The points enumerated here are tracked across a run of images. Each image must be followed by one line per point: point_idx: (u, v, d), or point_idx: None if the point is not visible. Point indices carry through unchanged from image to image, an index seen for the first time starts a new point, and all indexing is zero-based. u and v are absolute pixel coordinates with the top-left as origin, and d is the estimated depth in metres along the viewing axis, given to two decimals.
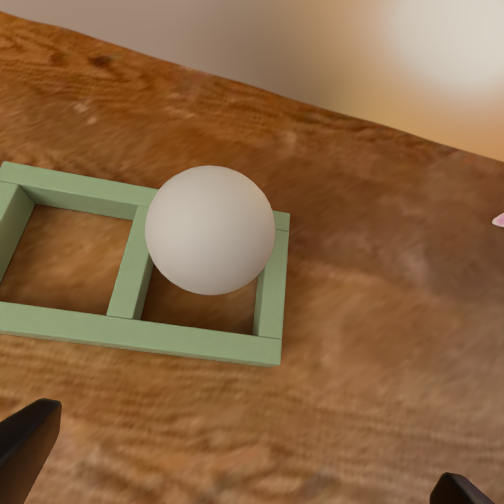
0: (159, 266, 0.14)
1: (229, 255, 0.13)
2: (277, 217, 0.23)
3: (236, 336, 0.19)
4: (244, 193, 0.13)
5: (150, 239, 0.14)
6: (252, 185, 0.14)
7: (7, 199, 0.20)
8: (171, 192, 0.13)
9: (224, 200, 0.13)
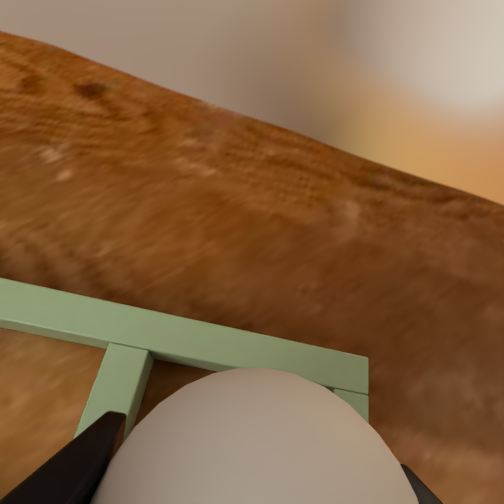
0: None
1: None
2: (348, 365, 0.13)
3: None
4: None
5: None
6: (393, 487, 0.05)
7: None
8: None
9: None
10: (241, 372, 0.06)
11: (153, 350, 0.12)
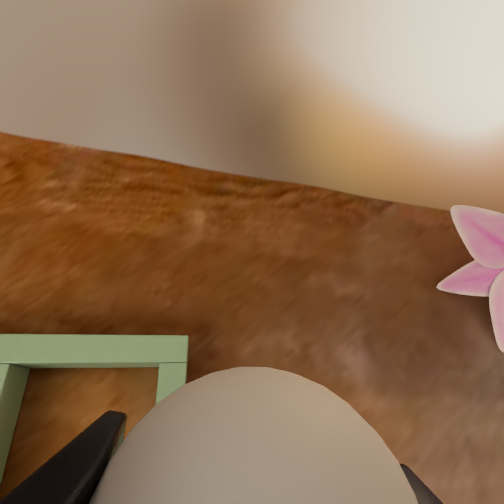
0: None
1: None
2: (171, 344, 0.18)
3: None
4: None
5: None
6: (391, 486, 0.05)
7: None
8: None
9: None
10: (240, 371, 0.06)
11: (14, 363, 0.17)
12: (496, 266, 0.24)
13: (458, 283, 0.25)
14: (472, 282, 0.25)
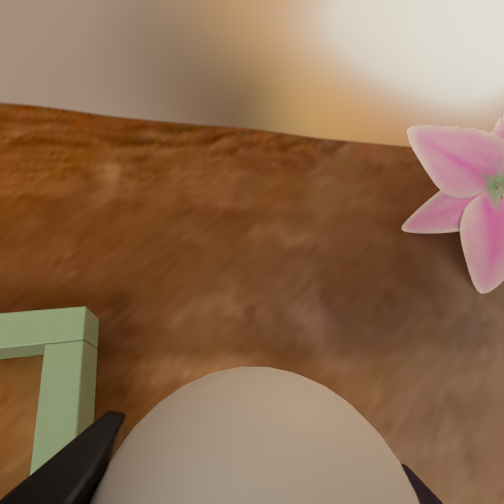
0: None
1: None
2: (62, 319, 0.14)
3: None
4: None
5: None
6: (393, 486, 0.05)
7: None
8: None
9: None
10: (241, 371, 0.06)
11: None
12: (465, 195, 0.21)
13: (424, 220, 0.22)
14: (440, 217, 0.22)
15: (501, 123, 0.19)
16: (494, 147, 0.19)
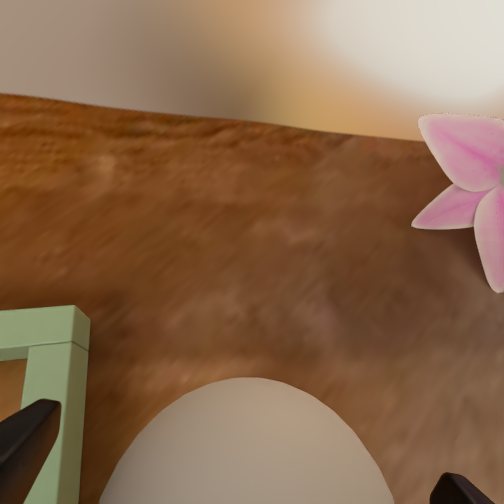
0: None
1: None
2: (48, 319, 0.13)
3: None
4: None
5: None
6: (368, 487, 0.05)
7: None
8: None
9: None
10: (236, 382, 0.07)
11: None
12: (478, 188, 0.20)
13: (436, 216, 0.21)
14: (453, 212, 0.20)
15: None
16: None
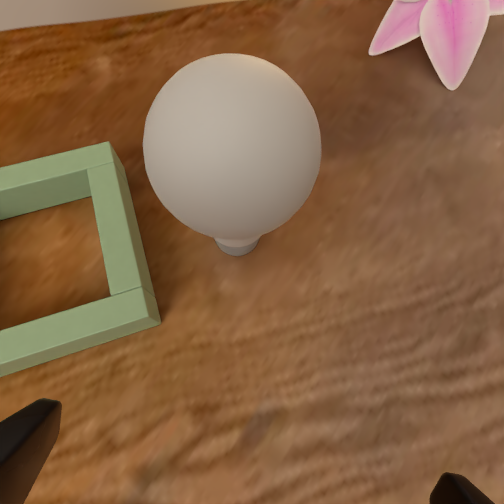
0: (170, 205, 0.10)
1: (263, 164, 0.09)
2: (93, 152, 0.18)
3: (82, 308, 0.15)
4: (270, 74, 0.09)
5: (151, 169, 0.10)
6: (279, 68, 0.10)
7: None
8: (166, 93, 0.09)
9: (243, 84, 0.09)
10: None
11: None
12: None
13: (387, 37, 0.24)
14: (401, 28, 0.23)
15: None
16: None
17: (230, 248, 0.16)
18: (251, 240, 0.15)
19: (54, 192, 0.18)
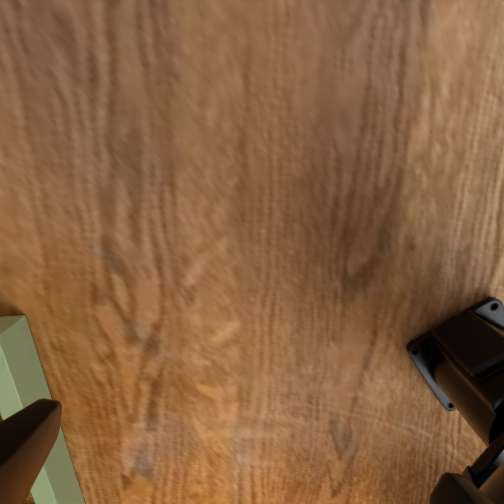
0: None
1: None
2: None
3: None
4: None
5: None
6: None
7: None
8: None
9: None
10: None
11: None
12: None
13: None
14: None
15: None
16: None
17: None
18: None
19: None
